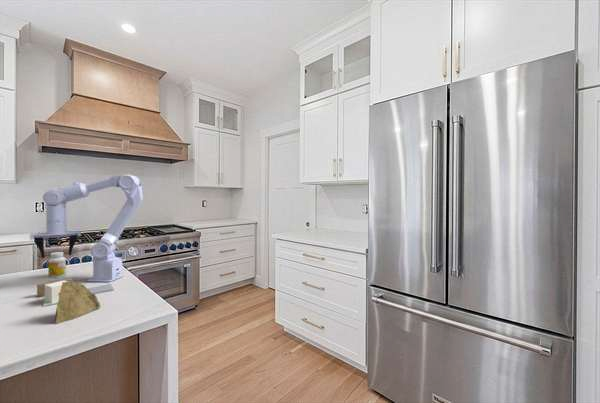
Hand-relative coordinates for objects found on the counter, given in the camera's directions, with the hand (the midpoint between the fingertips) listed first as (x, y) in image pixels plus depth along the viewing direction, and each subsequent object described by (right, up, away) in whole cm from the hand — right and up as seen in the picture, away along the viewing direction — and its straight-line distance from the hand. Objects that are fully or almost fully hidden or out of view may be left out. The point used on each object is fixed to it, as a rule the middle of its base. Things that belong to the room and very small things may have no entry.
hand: (56, 256), depth 104 cm
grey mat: (+22, -11, -7) cm, 25 cm away
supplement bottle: (-8, -10, +9) cm, 15 cm away
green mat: (+15, -11, -16) cm, 25 cm away
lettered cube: (+15, -11, -16) cm, 25 cm away
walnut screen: (+9, -11, -10) cm, 17 cm away
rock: (+30, -12, -26) cm, 41 cm away
